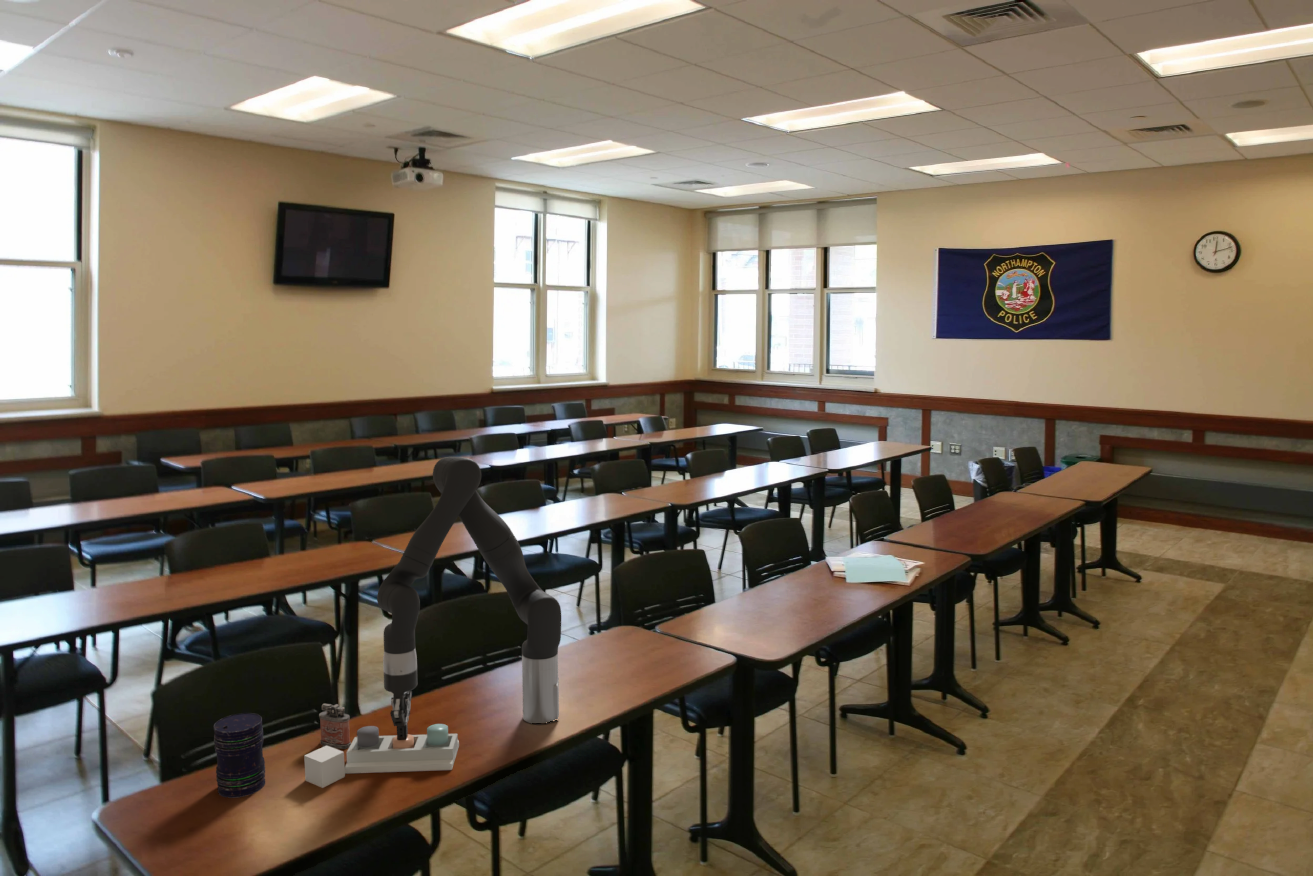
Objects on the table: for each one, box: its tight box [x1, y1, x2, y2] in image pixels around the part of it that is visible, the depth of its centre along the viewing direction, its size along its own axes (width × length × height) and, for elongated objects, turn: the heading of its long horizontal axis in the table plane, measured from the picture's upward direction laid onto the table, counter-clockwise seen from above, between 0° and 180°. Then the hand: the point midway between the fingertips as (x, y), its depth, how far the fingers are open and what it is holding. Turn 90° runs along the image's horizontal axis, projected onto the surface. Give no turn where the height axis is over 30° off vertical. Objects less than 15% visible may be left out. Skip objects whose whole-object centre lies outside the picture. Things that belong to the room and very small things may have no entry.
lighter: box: [318, 703, 352, 750], centre depth 224 cm, size 8×3×10 cm, turn 71°
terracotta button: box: [392, 733, 414, 749], centre depth 216 cm, size 5×5×3 cm
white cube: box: [304, 745, 346, 789], centre depth 208 cm, size 6×6×6 cm
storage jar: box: [213, 712, 266, 799], centre depth 203 cm, size 10×10×15 cm
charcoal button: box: [356, 725, 380, 747], centre depth 216 cm, size 5×5×3 cm
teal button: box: [426, 723, 449, 745], centre depth 217 cm, size 5×5×3 cm
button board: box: [344, 733, 460, 775], centre depth 217 cm, size 24×12×4 cm, turn 94°
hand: (402, 738), depth 216 cm, fingers closed
